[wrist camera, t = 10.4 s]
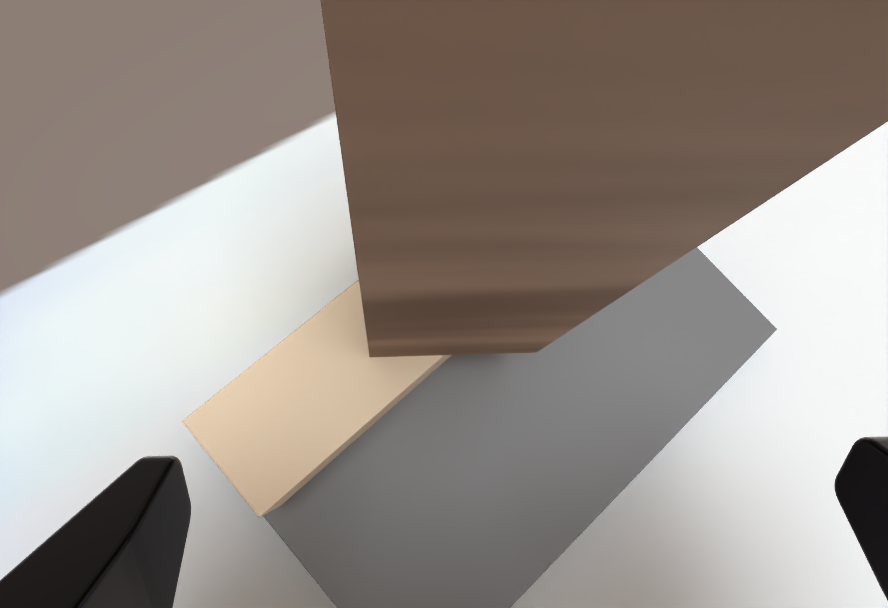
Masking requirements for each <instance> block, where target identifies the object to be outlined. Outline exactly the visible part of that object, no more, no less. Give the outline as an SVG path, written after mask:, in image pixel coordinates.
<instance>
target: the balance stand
mask: <svg viewBox="0 0 888 608" xmlns="http://www.w3.org/2000/svg"><path fill="white" fill-rule="evenodd" d="M776 330H777V329H776V328H775V327H774V326H773V325H772V324H771V323H770V322H769V321H768V320H767V319H766V318H765V317H764V316H763V315H762V313H761V312H760V311H759V310H758V309H757V308H756V307H755V306H754V305H753V304H752V303H751V302H750V301H749V300H748V299H747V298H746V297H745V296H744V295H743V294H742V293H741V292H740V291H739V290H738V289H737V288H736V287H735V286H734V285H733V284H732V283H731V282H730V281H729V280H728V279H727V278H726V277H725V276H724V275H723V274H722V273H721V272H720V271H719V270H718V269H717V268H716V267H715V265H714V264H713V263H712V262H711V261H710V260H709V259H708V258H707V257H706V256H705V255H704V254H703V253H702V252H701V251H700V250H699V249H698V248H697V247H696V248H695V249H693V250H691V251H690V252H688V253H687V254H685V255H684V256H682V257H681V258H679V259H678V260H676V261H675V262H673V263H672V264H670V265H669V266H667V267H666V268H664V269H663V270H661V271H660V272H658V273H657V274H655V275H654V276H652V277H650V278H649V279H647V280H646V281H644V282H643V283H641V284H640V285H638V286H637V287H635V288H634V289H632V290H631V291H629V292H628V293H626V294H625V295H623V296H622V297H620V298H619V299H617V300H616V301H614V302H613V303H611V304H609V305H608V306H606V307H605V308H603V309H602V310H600V311H599V312H597V313H596V314H594V315H593V316H591V317H590V318H588V319H587V320H585V321H584V322H582V323H581V324H579V325H578V326H576V327H575V328H573V329H572V330H570V331H568V332H567V333H565V334H564V335H562V336H561V337H559V338H558V339H556V340H555V341H553V342H552V343H550V344H549V345H547V346H546V347H544V348H543V349H541V350H540V351H538V352H537V353H505V354H470V355H435V356H400V357H369V350H368V342H367V335H366V328H365V321H364V313H363V306H362V299H361V292H360V284H359V280H358V281H356V282H355V283H354V284H353V285H351V286H350V287H349V288H348V289H346V290H345V291H344V292H343V293H341V294H340V295H339V296H338V297H337V298H335V299H334V300H333V301H332V302H330V303H329V304H328V305H327V306H325V307H324V308H323V309H322V310H320V311H319V312H318V313H317V314H315V315H314V316H313V317H312V318H310V319H309V320H308V321H307V322H305V323H304V324H303V325H302V326H300V327H299V328H298V329H297V330H295V331H294V332H293V333H292V334H290V335H289V336H288V337H287V338H285V339H284V340H283V341H282V342H280V343H279V344H278V345H277V346H275V347H274V348H273V349H272V350H270V351H269V352H268V353H267V354H265V355H264V356H263V357H262V358H260V359H259V360H258V361H257V362H255V363H254V364H253V365H252V366H250V367H249V368H248V369H247V370H245V371H244V372H243V373H242V374H240V375H239V376H238V377H237V378H235V379H234V380H233V381H232V382H230V383H229V384H228V385H227V386H225V387H224V388H223V389H222V390H220V391H219V392H218V393H217V394H215V395H214V396H213V397H212V398H210V399H209V400H208V401H207V402H205V403H204V404H203V405H202V406H200V407H199V408H198V409H197V410H195V411H194V412H193V413H192V414H191V415H189V416H188V417H187V418H186V419H184V420H183V421H182V422H183V423H184V425H185V426H186V427H187V428H188V430H189V431H190V432H191V433H192V434H193V436H194V437H195V438H196V439H197V441H198V442H199V443H200V444H201V446H202V447H203V448H204V449H205V451H206V452H207V453H208V454H209V456H210V457H211V458H212V459H213V461H214V462H215V463H216V464H217V466H218V467H219V468H220V469H221V470H222V472H223V473H224V474H225V475H226V477H227V478H228V479H229V480H230V482H231V483H232V484H233V485H234V487H235V488H236V489H237V490H238V492H239V493H240V494H241V495H242V497H243V498H244V499H245V500H246V502H247V503H248V504H249V505H250V506H251V508H252V509H253V510H254V511H255V513H256V514H257V515H258V516H259V517H260V516H262V515H263V516H264V517H265V519H266V520H267V521H268V522H269V524H270V525H271V526H272V527H273V529H274V530H275V531H276V532H277V534H278V535H279V536H280V537H281V538H282V540H283V541H284V542H285V543H286V545H287V546H288V547H289V548H290V550H291V551H292V552H293V553H294V555H295V556H296V557H297V558H298V560H299V561H300V562H301V563H302V565H303V566H304V567H305V568H306V569H307V571H308V572H309V573H310V574H311V576H312V577H313V578H314V579H315V581H316V582H317V583H318V584H319V586H320V587H321V588H322V589H323V591H324V592H325V593H326V594H327V596H328V597H329V598H330V599H331V600H332V602H333V603H334V604H335V605H336V607H337V608H510V607H511V606H512V605H513V604H514V603H515V602H516V601H517V600H518V599H519V598H520V597H521V596H522V595H523V594H524V592H525V591H526V590H527V589H528V588H529V587H530V586H531V585H532V584H533V583H534V582H535V581H536V580H537V579H538V578H539V577H540V576H541V575H542V574H543V573H544V572H545V571H546V570H547V569H548V567H549V566H550V565H551V564H552V563H553V562H554V561H555V560H556V559H557V558H558V557H559V556H560V555H561V554H562V553H563V552H564V551H565V550H566V549H567V548H568V547H569V546H570V545H571V543H572V542H573V541H574V540H575V539H576V538H577V537H578V536H579V535H580V534H581V533H582V532H583V531H584V530H585V529H586V528H587V527H588V526H589V525H590V524H591V523H592V522H593V521H594V519H595V518H596V517H597V516H598V515H599V514H600V513H601V512H602V511H603V510H604V509H605V508H606V507H607V506H608V505H609V504H610V503H611V502H612V501H613V500H614V499H615V498H616V497H617V496H618V494H619V493H620V492H621V491H622V490H623V489H624V488H625V487H626V486H627V485H628V484H629V483H630V482H631V481H632V480H633V479H634V478H635V477H636V476H637V475H638V474H639V473H640V472H641V470H642V469H643V468H644V467H645V466H646V465H647V464H648V463H649V462H650V461H651V460H652V459H653V458H654V457H655V456H656V455H657V454H658V453H659V452H660V451H661V450H662V449H663V448H664V447H665V445H666V444H667V443H668V442H669V441H670V440H671V439H672V438H673V437H674V436H675V435H676V434H677V433H678V432H679V431H680V430H681V429H682V428H683V427H684V426H685V425H686V424H687V423H688V421H689V420H690V419H691V418H692V417H693V416H694V415H695V414H696V413H697V412H698V411H699V410H700V409H701V408H702V407H703V406H704V405H705V404H706V403H707V402H708V401H709V400H710V399H711V397H712V396H713V395H714V394H715V393H716V392H717V391H718V390H719V389H720V388H721V387H722V386H723V385H724V384H725V383H726V382H727V381H728V380H729V379H730V378H731V377H732V376H733V375H734V374H735V372H736V371H737V370H738V369H739V368H740V367H741V366H742V365H743V364H744V363H745V362H746V361H747V360H748V359H749V358H750V357H751V356H752V355H753V354H754V353H755V352H756V351H757V350H758V348H759V347H760V346H761V345H762V344H763V343H764V342H765V341H766V340H767V339H768V338H769V337H770V336H771V335H772V334H773V333H774V332H775V331H776Z"/></svg>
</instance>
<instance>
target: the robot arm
mask: <svg viewBox="0 0 888 608" xmlns="http://www.w3.org/2000/svg"><path fill="white" fill-rule="evenodd" d="M835 492H836V496H837V498H838V501H839V503H840V505H841V507H842V509H843V511H844V513H845V515H846V517H847V519H848V521H849V523H850V525H851V527H852V529H853V531H854V533H855V535H856V538H857V540H858V542H859V544H860V546H861V548H862V550H863V552H864V554H865V556H866V558H867V560H868V562H869V564H870V566H871V568H872V570H873V572H874V574H875V577H876V579H877V581H878V583H879V585H880V587H881V589H882V591H883V593H884V594H885V596H886V598H887V600H888V437H864V438H860V439H859V440H857V441H856V442H855V443H854V445H853V446H852V448H851V450H850V452H849V454H848V456H847V458H846V459H845V461H844V463H843V465H842V467H841V469H840V471H839V473H838V474H837V476H836V479H835ZM190 516H191V503H190V498H189V494H188V489H187V485H186V481H185V477H184V473H183V469H182V465H181V462H180V460H179V459H178V458H177V457H175V456H148V457H143V458H141V459H140V460H138V461H137V462H135V463H134V464H133V465H132V466H131V467H130V468H129V469H127V470H126V471H125V472H124V473H123V474H122V475H120V476H119V477H118V478H117V479H116V480H115V481H114V482H112V483H111V484H110V485H109V486H108V487H107V488H106V489H104V490H103V491H102V492H101V493H100V494H99V495H98V496H96V497H95V498H94V499H93V500H92V501H91V502H90V503H88V504H87V505H86V506H85V507H84V508H83V509H82V510H80V511H79V512H78V513H77V514H76V515H75V516H73V517H72V518H71V519H70V520H69V521H68V522H67V523H65V524H64V525H63V526H62V527H61V528H60V529H59V530H57V531H56V532H55V533H54V534H53V535H52V536H51V537H49V538H48V539H47V540H46V541H45V542H44V543H43V544H41V545H40V546H39V547H38V548H37V549H36V550H35V551H33V552H32V553H31V554H30V555H29V556H28V557H26V558H25V559H24V560H23V561H22V562H21V563H20V564H18V565H17V566H16V567H15V568H14V569H13V570H12V571H10V572H9V573H8V574H7V575H6V576H5V577H4V578H2V579H1V580H0V608H172V607H173V602H174V597H175V592H176V587H177V582H178V577H179V572H180V567H181V562H182V557H183V553H184V548H185V543H186V538H187V533H188V528H189V523H190Z"/></svg>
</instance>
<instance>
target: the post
mask: <svg viewBox="0 0 888 608" xmlns="http://www.w3.org/2000/svg"><path fill="white" fill-rule="evenodd" d="M320 1H321V7H322V16H323V23H324V30H325V37H326V45H327V52H328V59H329V66H330V74H331V81H332V88H333V96H334V103H335V110H336V117H337V125H338V132H339V139H340V146H341V154H342V161H343V168H344V175H345V183H346V190H347V197H348V204H349V212H350V219H351V226H352V233H353V241H354V248H355V255H356V262H357V270H358V277H359V284H360V292H361V299H362V306H363V313H364V321H365V328H366V335H367V342H368V350H369V357H400V356H435V355H470V354H505V353H537V352H538V351H540V350H541V349H543V348H544V347H546V346H547V345H549V344H550V343H552V342H553V341H555V340H556V339H558V338H559V337H561V336H562V335H564V334H565V333H567V332H568V331H570V330H572V329H573V328H575V327H576V326H578V325H579V324H581V323H582V322H584V321H585V320H587V319H588V318H590V317H591V316H593V315H594V314H596V313H597V312H599V311H600V310H602V309H603V308H605V307H606V306H608V305H609V304H611V303H613V302H614V301H616V300H617V299H619V298H620V297H622V296H623V295H625V294H626V293H628V292H629V291H631V290H632V289H634V288H635V287H637V286H638V285H640V284H641V283H643V282H644V281H646V280H647V279H649V278H650V277H652V276H654V275H655V274H657V273H658V272H660V271H661V270H663V269H664V268H666V267H667V266H669V265H670V264H672V263H673V262H675V261H676V260H678V259H679V258H681V257H682V256H684V255H685V254H687V253H688V252H690V251H691V250H693V249H695V248H696V247H698V246H699V245H701V244H702V243H704V242H705V241H707V240H708V239H710V238H711V237H713V236H714V235H716V234H717V233H719V232H720V231H722V230H723V229H725V228H726V227H728V226H729V225H731V224H732V223H734V222H736V221H737V220H739V219H740V218H742V217H743V216H745V215H746V214H748V213H749V212H751V211H752V210H754V209H755V208H757V207H758V206H760V205H761V204H763V203H764V202H766V201H767V200H769V199H770V198H772V197H774V196H775V195H777V194H778V193H780V192H781V191H783V190H784V189H786V188H787V187H789V186H790V185H792V184H793V183H795V182H796V181H798V180H799V179H801V178H802V177H804V176H805V175H807V174H808V173H810V172H811V171H813V170H815V169H816V168H818V167H819V166H821V165H822V164H824V163H825V162H827V161H828V160H830V159H831V158H833V157H834V156H836V155H837V154H839V153H840V152H842V151H843V150H845V149H846V148H848V147H849V146H851V145H852V144H854V143H856V142H857V141H859V140H860V139H862V138H863V137H865V136H866V135H868V134H869V133H871V132H872V131H874V130H875V129H877V128H878V127H880V126H881V125H883V124H884V123H886V122H887V121H888V0H320Z"/></svg>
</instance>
